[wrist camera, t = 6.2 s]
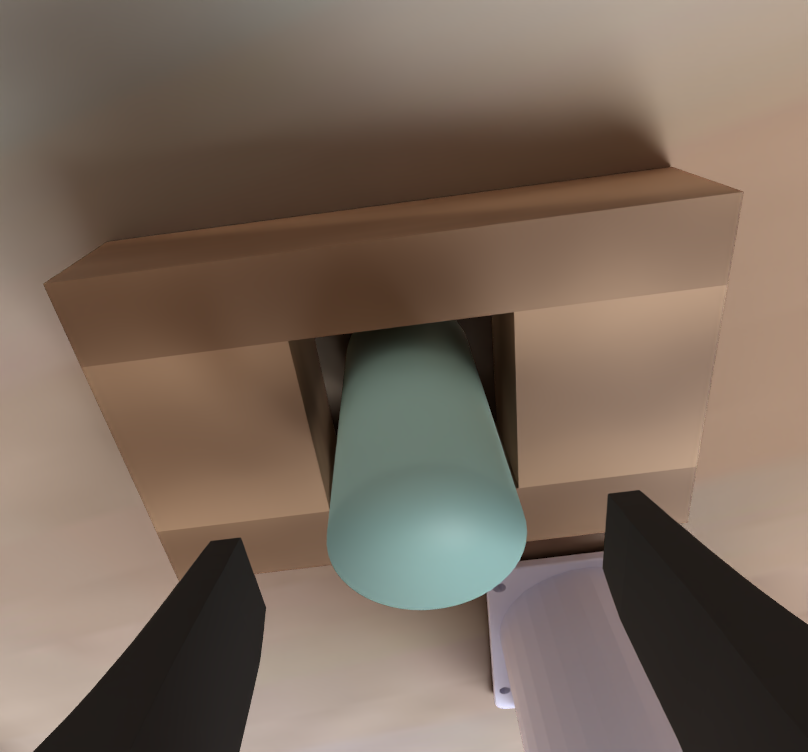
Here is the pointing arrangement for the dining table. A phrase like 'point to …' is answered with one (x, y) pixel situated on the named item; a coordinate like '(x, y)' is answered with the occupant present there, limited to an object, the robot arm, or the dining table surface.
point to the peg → (420, 473)
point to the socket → (403, 306)
